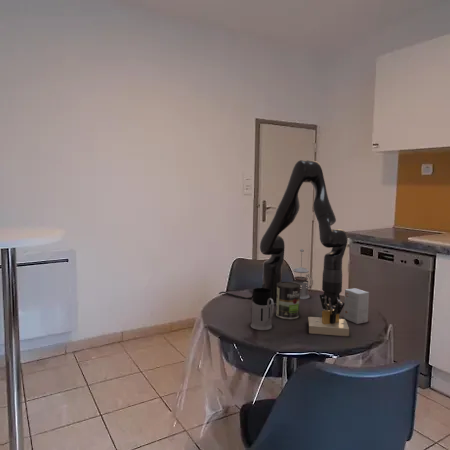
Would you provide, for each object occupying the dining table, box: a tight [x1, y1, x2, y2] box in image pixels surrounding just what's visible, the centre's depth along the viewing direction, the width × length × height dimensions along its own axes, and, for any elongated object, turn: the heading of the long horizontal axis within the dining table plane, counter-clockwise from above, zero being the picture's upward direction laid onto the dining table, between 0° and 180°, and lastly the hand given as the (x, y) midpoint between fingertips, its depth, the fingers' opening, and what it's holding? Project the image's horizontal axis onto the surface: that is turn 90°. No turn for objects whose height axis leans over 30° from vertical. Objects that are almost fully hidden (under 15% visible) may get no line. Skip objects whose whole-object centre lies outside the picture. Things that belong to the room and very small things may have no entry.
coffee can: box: [275, 281, 301, 320], centre depth 168 cm, size 10×10×14 cm
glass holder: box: [250, 287, 275, 331], centre depth 152 cm, size 9×14×15 cm, turn 20°
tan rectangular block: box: [321, 309, 340, 324], centre depth 151 cm, size 7×2×5 cm, turn 110°
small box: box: [343, 287, 370, 325], centre depth 163 cm, size 8×6×13 cm
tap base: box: [307, 316, 350, 337], centre depth 152 cm, size 15×11×3 cm
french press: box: [292, 248, 314, 300], centre depth 198 cm, size 10×12×25 cm
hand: (330, 322), depth 152 cm, fingers closed on tan rectangular block, 2 cm apart
